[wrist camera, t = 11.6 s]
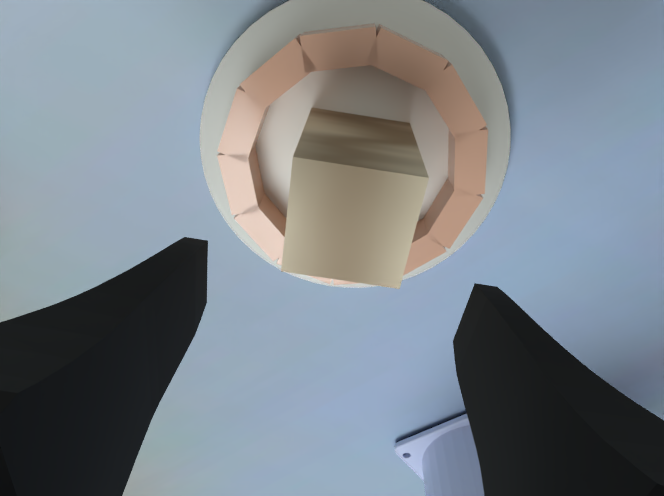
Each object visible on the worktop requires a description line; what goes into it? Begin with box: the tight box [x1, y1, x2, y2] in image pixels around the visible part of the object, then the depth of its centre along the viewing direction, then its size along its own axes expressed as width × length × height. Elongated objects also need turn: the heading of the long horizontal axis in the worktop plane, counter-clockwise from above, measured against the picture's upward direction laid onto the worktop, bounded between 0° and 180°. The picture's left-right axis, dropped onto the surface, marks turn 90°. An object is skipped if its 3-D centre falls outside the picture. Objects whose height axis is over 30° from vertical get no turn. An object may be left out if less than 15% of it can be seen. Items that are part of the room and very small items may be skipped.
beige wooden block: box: [281, 108, 429, 289], centre depth 17 cm, size 4×4×6 cm
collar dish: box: [200, 0, 511, 288], centre depth 19 cm, size 13×13×2 cm
